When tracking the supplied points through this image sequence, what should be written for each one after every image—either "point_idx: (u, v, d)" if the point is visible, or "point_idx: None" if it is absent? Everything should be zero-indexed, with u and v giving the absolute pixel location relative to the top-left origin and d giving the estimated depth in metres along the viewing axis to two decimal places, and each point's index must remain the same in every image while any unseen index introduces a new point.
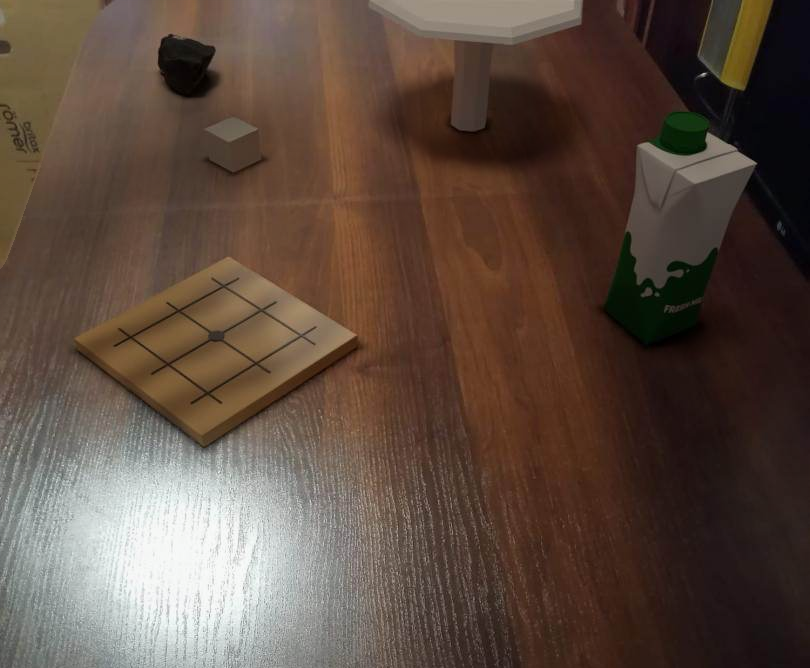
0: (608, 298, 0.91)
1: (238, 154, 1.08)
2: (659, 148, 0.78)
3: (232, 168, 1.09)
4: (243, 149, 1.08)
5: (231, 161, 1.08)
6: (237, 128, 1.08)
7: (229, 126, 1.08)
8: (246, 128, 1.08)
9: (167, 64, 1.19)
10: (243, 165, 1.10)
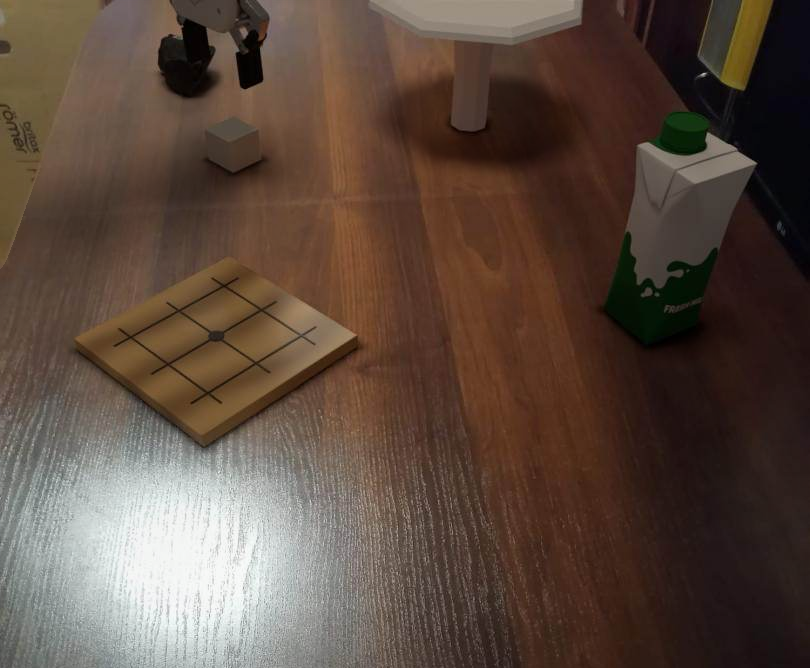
0: (608, 298, 0.91)
1: (238, 154, 1.08)
2: (659, 148, 0.78)
3: (232, 168, 1.09)
4: (243, 149, 1.08)
5: (231, 161, 1.08)
6: (237, 128, 1.08)
7: (229, 126, 1.08)
8: (246, 128, 1.08)
9: (167, 64, 1.19)
10: (243, 165, 1.10)
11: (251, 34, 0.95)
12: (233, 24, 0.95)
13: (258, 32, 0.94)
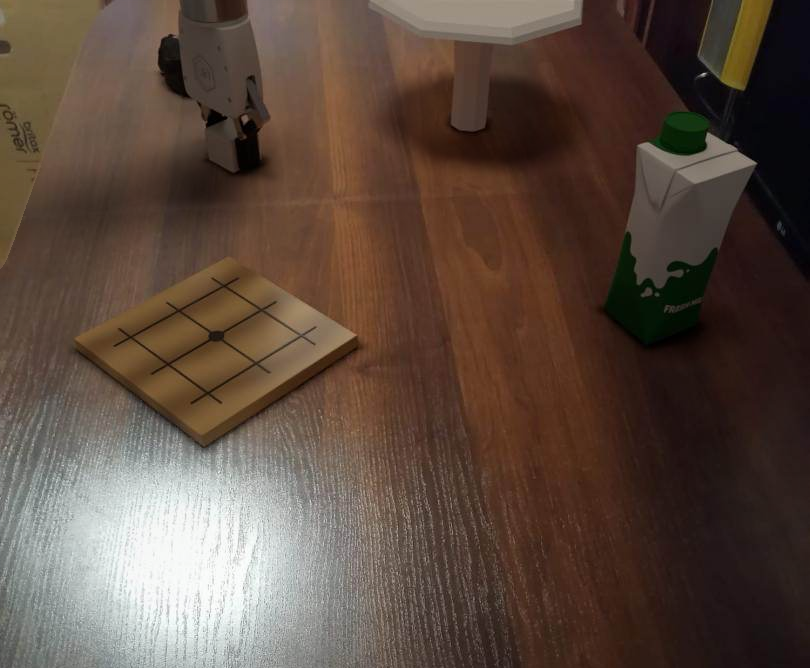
0: (608, 298, 0.91)
1: None
2: (659, 148, 0.78)
3: (232, 168, 1.09)
4: None
5: (231, 161, 1.08)
6: None
7: (229, 126, 1.08)
8: None
9: (167, 64, 1.19)
10: None
11: (249, 124, 1.04)
12: (243, 111, 1.02)
13: (257, 126, 1.03)
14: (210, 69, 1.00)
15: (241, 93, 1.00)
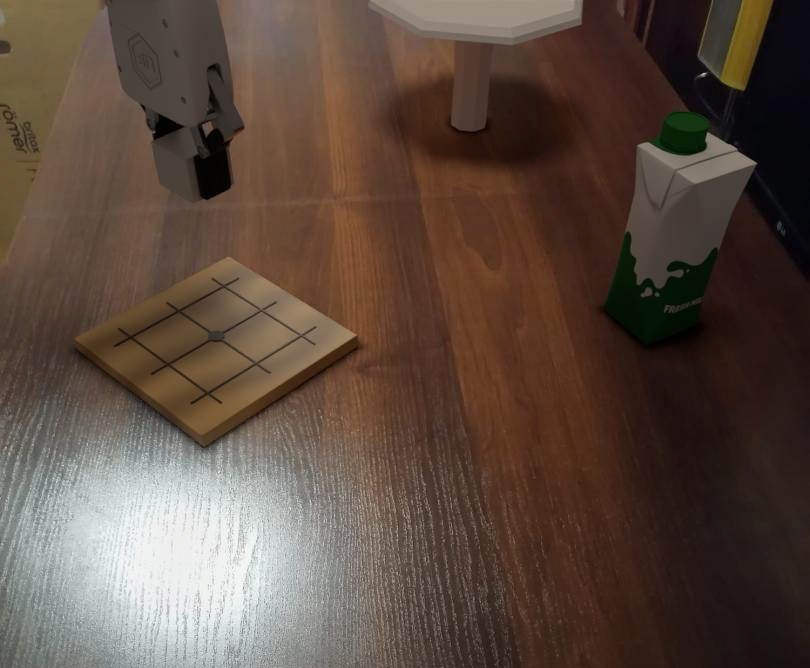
0: (608, 298, 0.91)
1: None
2: (659, 148, 0.78)
3: (191, 198, 0.76)
4: None
5: (189, 188, 0.76)
6: None
7: (187, 137, 0.76)
8: None
9: None
10: None
11: (213, 135, 0.71)
12: (203, 116, 0.69)
13: (224, 138, 0.71)
14: (153, 55, 0.67)
15: (200, 90, 0.68)
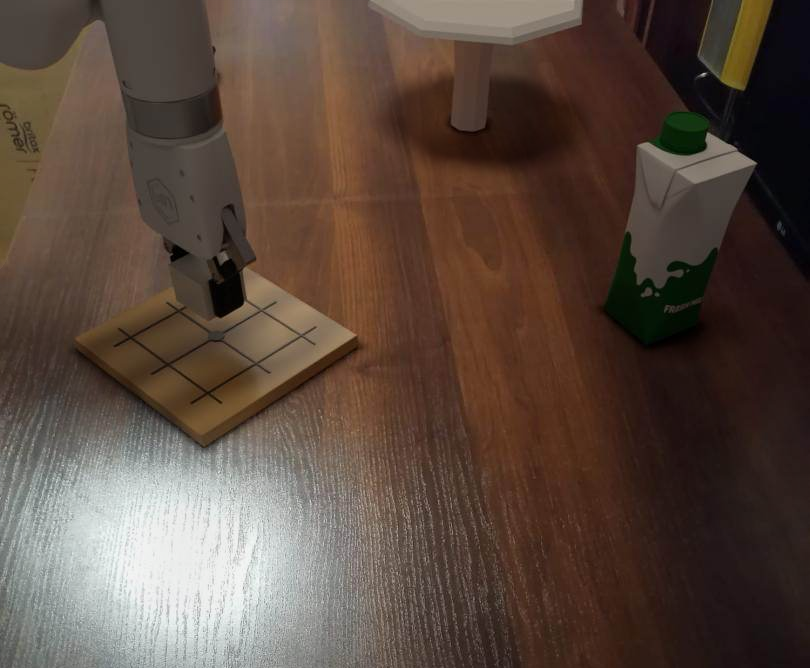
0: (608, 298, 0.91)
1: None
2: (659, 148, 0.78)
3: (206, 316, 0.80)
4: None
5: (204, 308, 0.80)
6: None
7: (203, 259, 0.80)
8: None
9: None
10: None
11: (227, 265, 0.75)
12: (218, 250, 0.74)
13: (238, 268, 0.75)
14: (171, 197, 0.71)
15: (215, 229, 0.72)
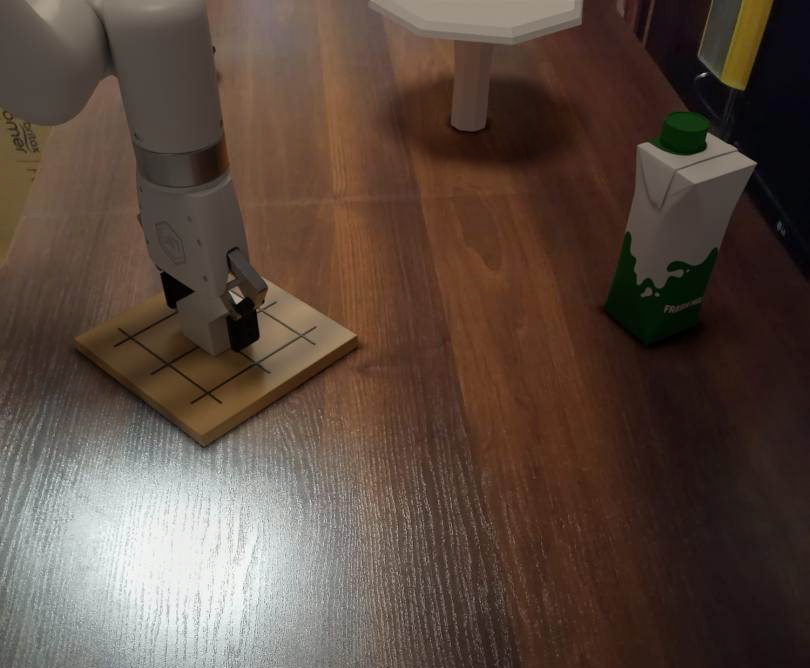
0: (608, 298, 0.91)
1: (221, 334, 0.83)
2: (659, 148, 0.78)
3: (212, 352, 0.84)
4: None
5: (211, 344, 0.83)
6: (219, 300, 0.83)
7: None
8: None
9: None
10: (228, 345, 0.85)
11: (245, 303, 0.77)
12: (223, 290, 0.77)
13: (254, 302, 0.76)
14: (178, 240, 0.74)
15: (220, 270, 0.75)
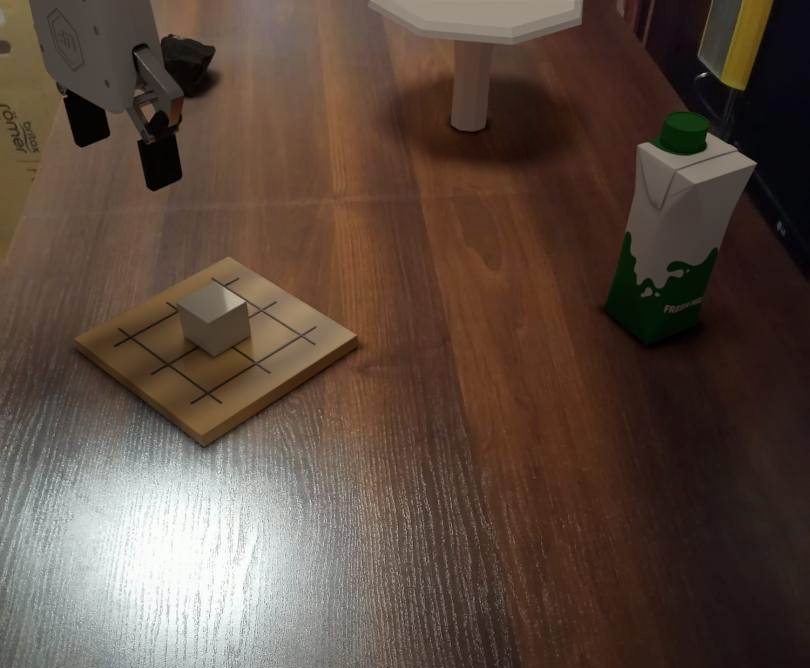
0: (608, 298, 0.91)
1: (221, 334, 0.83)
2: (659, 148, 0.78)
3: (212, 352, 0.84)
4: (227, 328, 0.83)
5: (211, 344, 0.83)
6: (219, 300, 0.83)
7: (209, 297, 0.83)
8: (231, 300, 0.83)
9: (167, 64, 1.19)
10: (228, 345, 0.85)
11: (157, 117, 0.63)
12: (130, 102, 0.63)
13: (167, 115, 0.63)
14: (73, 33, 0.61)
15: (125, 73, 0.61)
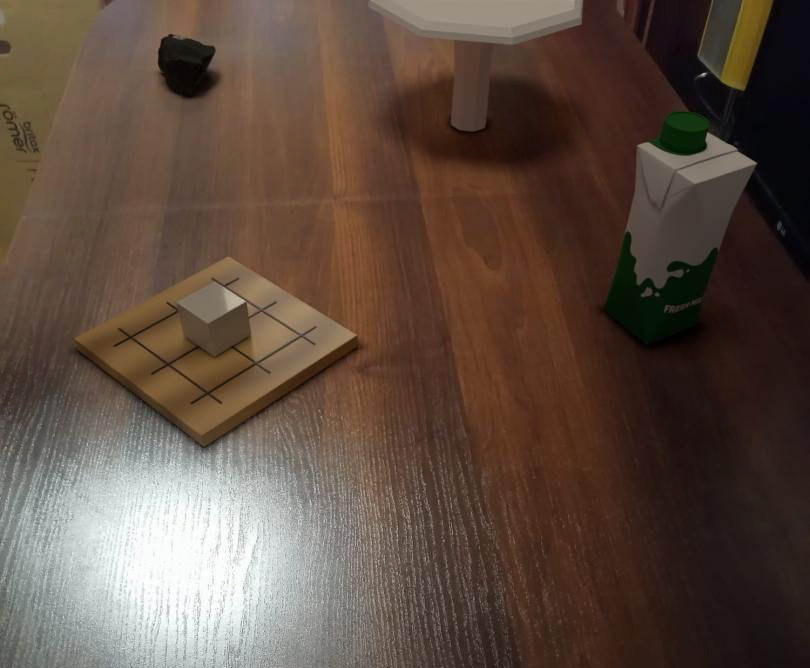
0: (608, 298, 0.91)
1: (221, 334, 0.83)
2: (659, 148, 0.78)
3: (212, 352, 0.84)
4: (227, 328, 0.83)
5: (211, 344, 0.83)
6: (219, 300, 0.83)
7: (209, 297, 0.83)
8: (231, 300, 0.83)
9: (167, 64, 1.19)
10: (228, 345, 0.85)
11: None
12: None
13: None
14: None
15: None
